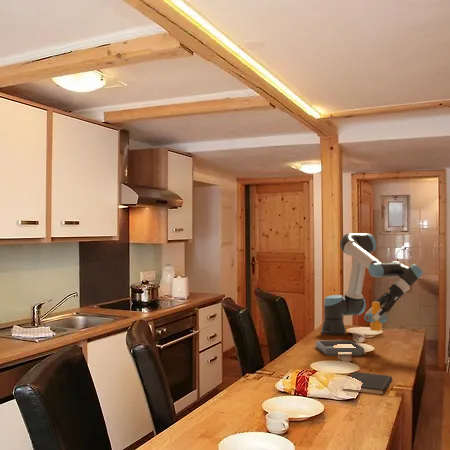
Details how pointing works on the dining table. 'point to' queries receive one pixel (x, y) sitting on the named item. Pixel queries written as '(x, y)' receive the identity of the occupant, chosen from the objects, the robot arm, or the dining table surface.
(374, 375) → the hardcover book
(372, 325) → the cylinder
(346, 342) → the tray
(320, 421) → the dining table surface
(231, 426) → the dining table surface
